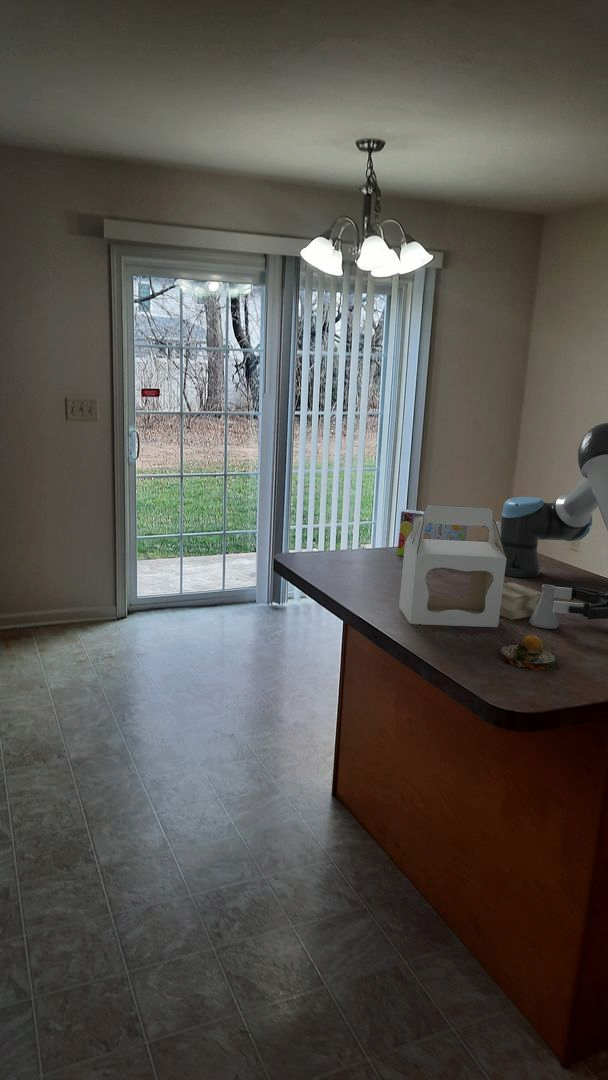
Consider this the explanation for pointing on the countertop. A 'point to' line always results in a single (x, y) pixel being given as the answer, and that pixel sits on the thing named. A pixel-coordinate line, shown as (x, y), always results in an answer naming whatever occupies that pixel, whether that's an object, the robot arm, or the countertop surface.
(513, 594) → the beech box
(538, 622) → the flask
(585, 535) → the robot arm
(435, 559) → the gable box
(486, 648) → the countertop surface
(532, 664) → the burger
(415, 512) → the snack box
